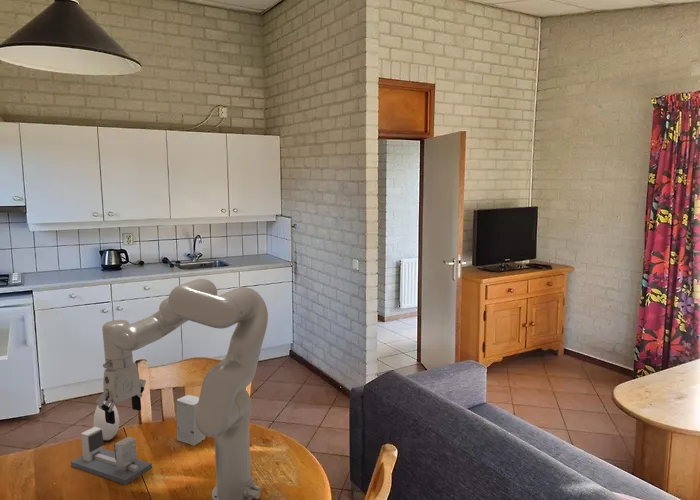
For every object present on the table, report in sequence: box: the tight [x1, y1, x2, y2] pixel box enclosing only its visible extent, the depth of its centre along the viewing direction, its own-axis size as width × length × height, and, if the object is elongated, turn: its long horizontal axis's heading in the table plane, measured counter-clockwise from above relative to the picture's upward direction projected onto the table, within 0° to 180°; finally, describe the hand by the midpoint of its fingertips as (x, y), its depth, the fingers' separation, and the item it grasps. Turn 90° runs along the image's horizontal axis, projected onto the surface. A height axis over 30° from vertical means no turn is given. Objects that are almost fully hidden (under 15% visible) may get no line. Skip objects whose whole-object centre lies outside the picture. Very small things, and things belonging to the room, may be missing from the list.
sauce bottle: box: [93, 400, 120, 441], centre depth 181 cm, size 8×8×18 cm
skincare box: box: [176, 394, 206, 446], centre depth 180 cm, size 8×6×15 cm
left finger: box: [113, 436, 138, 473], centre depth 161 cm, size 4×5×9 cm
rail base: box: [70, 426, 153, 486], centre depth 164 cm, size 24×10×10 cm, turn 64°
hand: (124, 416), depth 159 cm, fingers open, 9 cm apart
